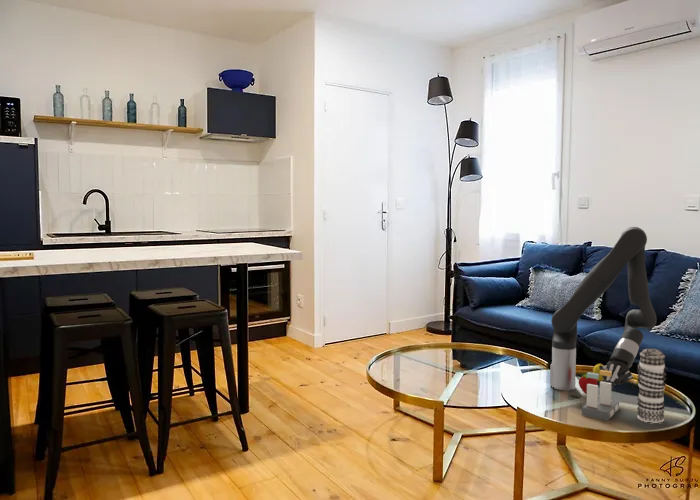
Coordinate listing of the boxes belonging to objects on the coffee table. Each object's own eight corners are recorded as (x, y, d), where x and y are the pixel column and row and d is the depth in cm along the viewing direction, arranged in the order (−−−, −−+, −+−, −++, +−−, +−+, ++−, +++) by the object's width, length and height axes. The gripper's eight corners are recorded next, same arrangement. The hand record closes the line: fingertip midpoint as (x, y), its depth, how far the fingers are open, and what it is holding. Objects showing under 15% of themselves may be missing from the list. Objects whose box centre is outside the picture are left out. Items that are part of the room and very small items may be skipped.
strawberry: (600, 396, 225) (601, 372, 224) (584, 398, 223) (584, 374, 222) (591, 392, 230) (591, 368, 230) (575, 393, 229) (575, 369, 228)
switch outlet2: (599, 403, 209) (599, 370, 208) (600, 402, 210) (601, 369, 209) (610, 405, 206) (610, 372, 205) (611, 404, 208) (611, 371, 207)
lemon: (608, 384, 240) (608, 365, 239) (594, 383, 241) (594, 365, 240) (605, 380, 245) (605, 361, 244) (591, 379, 246) (591, 361, 245)
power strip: (581, 415, 207) (581, 407, 206) (596, 400, 221) (596, 392, 221) (608, 421, 201) (609, 412, 200) (622, 405, 215) (622, 397, 215)
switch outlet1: (586, 406, 206) (586, 373, 205) (587, 404, 208) (588, 372, 207) (597, 408, 204) (597, 375, 203) (598, 406, 205) (599, 373, 204)
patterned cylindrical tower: (645, 412, 208) (646, 345, 206) (670, 420, 200) (672, 350, 198) (630, 417, 203) (632, 349, 201) (656, 426, 195) (658, 355, 193)
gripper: (604, 344, 219) (586, 381, 213) (638, 351, 208) (620, 390, 202) (611, 355, 223) (593, 392, 216) (645, 362, 212) (627, 401, 206)
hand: (606, 391), depth 209 cm, fingers closed
